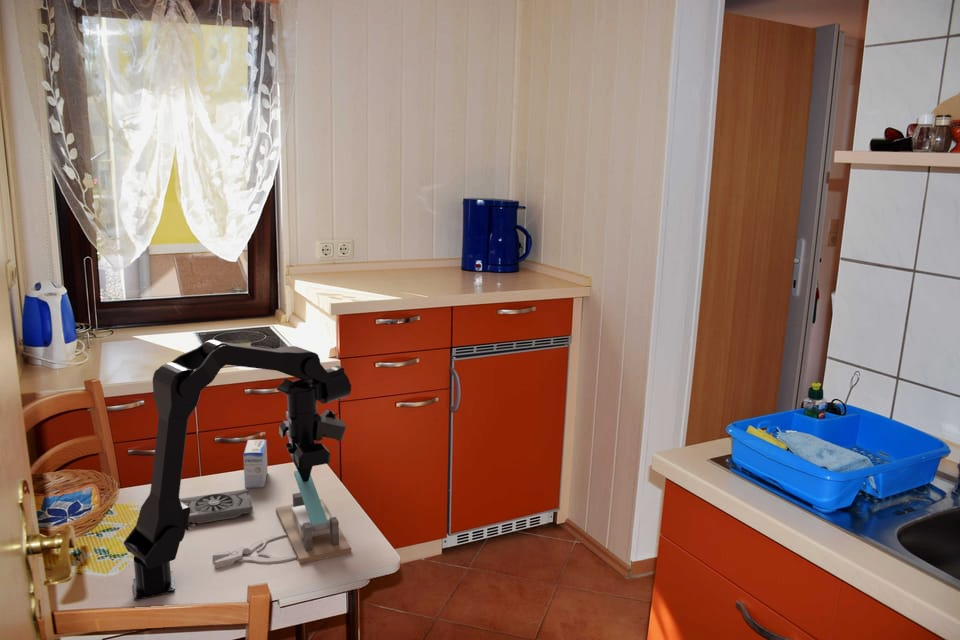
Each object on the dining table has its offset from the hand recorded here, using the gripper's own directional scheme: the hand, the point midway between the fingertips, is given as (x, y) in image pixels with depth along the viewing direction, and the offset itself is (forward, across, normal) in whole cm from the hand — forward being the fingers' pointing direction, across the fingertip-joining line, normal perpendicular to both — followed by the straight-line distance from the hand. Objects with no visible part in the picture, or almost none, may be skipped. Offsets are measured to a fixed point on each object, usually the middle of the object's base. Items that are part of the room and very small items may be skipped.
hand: (305, 480), depth 154 cm
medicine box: (+10, +24, +6) cm, 26 cm away
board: (+9, -4, 0) cm, 10 cm away
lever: (+3, -5, 0) cm, 5 cm away
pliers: (+10, -9, +12) cm, 18 cm away
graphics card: (+10, +10, +18) cm, 23 cm away
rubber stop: (+9, +3, 0) cm, 10 cm away
